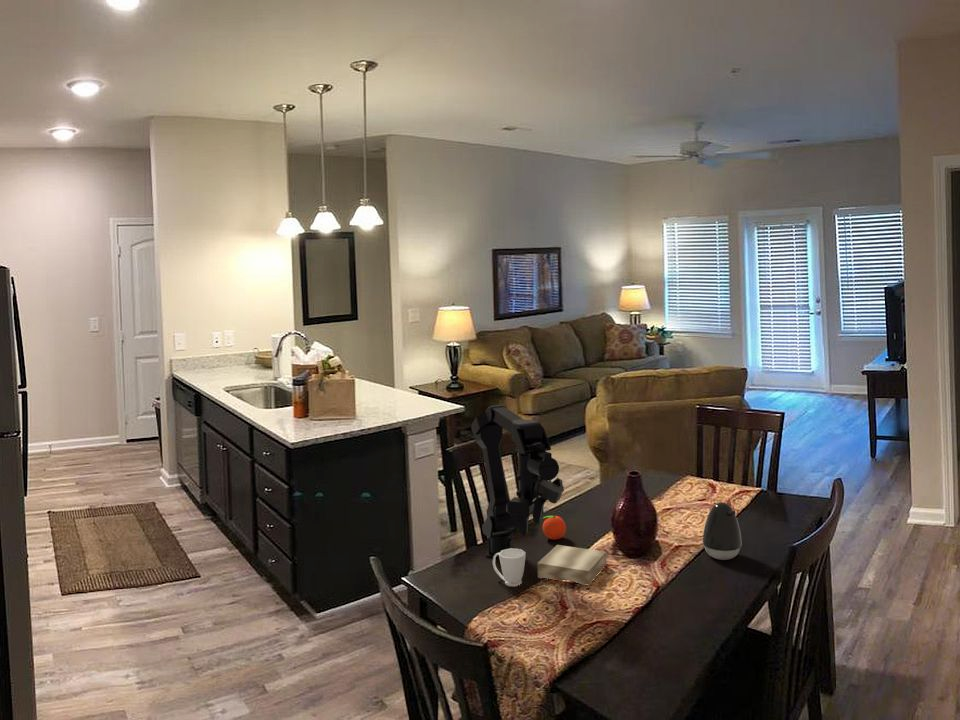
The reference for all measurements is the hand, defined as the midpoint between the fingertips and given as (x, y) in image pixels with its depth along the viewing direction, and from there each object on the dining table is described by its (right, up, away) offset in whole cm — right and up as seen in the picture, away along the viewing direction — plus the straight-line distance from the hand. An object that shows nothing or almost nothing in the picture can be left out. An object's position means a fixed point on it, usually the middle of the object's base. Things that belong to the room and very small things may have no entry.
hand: (531, 529), depth 205 cm
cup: (-6, -14, 0) cm, 15 cm away
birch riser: (+11, -12, +5) cm, 17 cm away
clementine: (+8, -9, +30) cm, 32 cm away
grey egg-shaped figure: (+53, -10, +11) cm, 55 cm away
